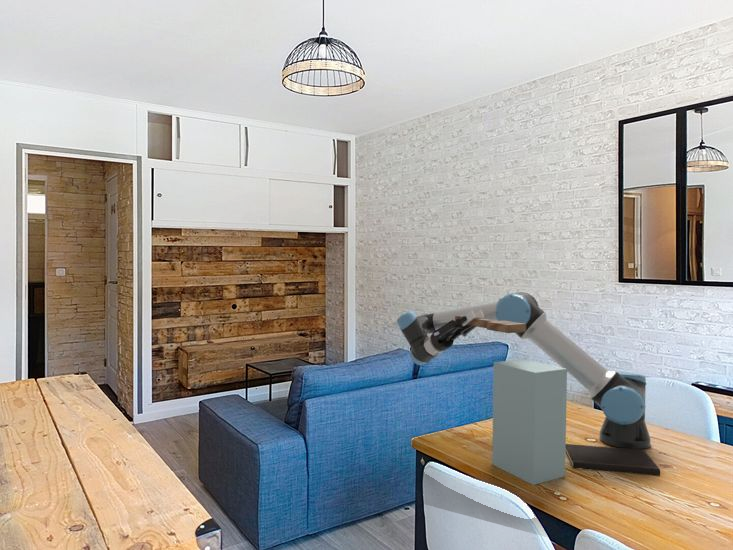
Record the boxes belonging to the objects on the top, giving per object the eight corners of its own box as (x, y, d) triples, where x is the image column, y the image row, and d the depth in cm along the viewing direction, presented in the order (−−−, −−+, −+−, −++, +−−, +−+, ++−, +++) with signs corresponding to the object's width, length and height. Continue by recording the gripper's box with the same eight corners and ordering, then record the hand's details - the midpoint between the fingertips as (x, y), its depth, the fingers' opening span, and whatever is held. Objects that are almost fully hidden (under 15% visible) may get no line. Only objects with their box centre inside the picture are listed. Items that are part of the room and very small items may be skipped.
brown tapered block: (450, 323, 176) (450, 316, 176) (466, 322, 180) (466, 315, 180) (508, 333, 153) (508, 325, 153) (525, 331, 156) (525, 323, 156)
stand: (492, 464, 155) (493, 362, 154) (522, 457, 161) (524, 359, 160) (533, 484, 141) (535, 372, 140) (564, 476, 147) (567, 368, 146)
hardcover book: (564, 450, 169) (564, 443, 169) (643, 457, 164) (643, 449, 164) (573, 470, 153) (573, 462, 153) (660, 477, 148) (660, 469, 148)
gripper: (460, 349, 190) (500, 323, 172) (423, 353, 182) (461, 325, 164) (453, 330, 193) (492, 302, 175) (417, 332, 185) (454, 303, 167)
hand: (477, 313), depth 169 cm, fingers closed on brown tapered block, 3 cm apart
